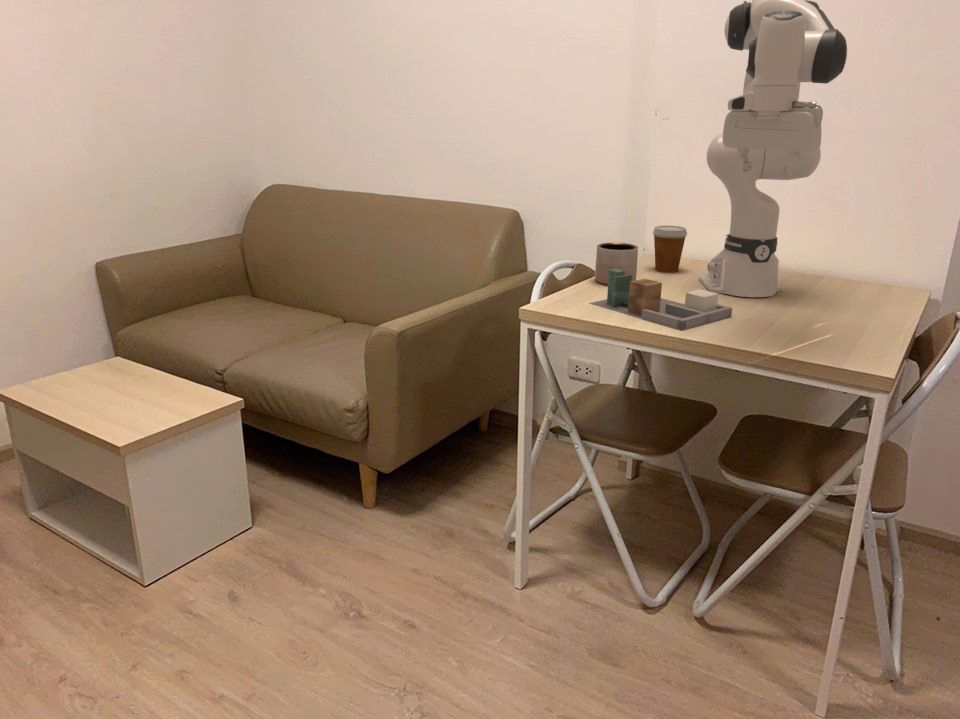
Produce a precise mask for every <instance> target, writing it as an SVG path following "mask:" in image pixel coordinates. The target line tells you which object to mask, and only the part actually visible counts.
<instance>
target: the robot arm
mask: <svg viewBox="0 0 960 719" xmlns="http://www.w3.org/2000/svg"><path fill="white" fill-rule="evenodd" d="M723 30H724V38H725V41H726V42H727V46H728V47H729V48H730V49H731V50H736V51H740V52H741V51H742V52H743V51H744V50H748V58H747V67H746V69H745V76H744V81H743V90H742V94H741V95H739V96H735V97H733V98H730V99H729V100H728V102H727V109H728V111H729V112H728V113H727V114H726V115H725V118H724V124H723V129H722V130H723V131H722V134H718V135H716V136H715V137H714V138H713V139H712V141H711V142H710V143H709V145H708V148H707V152H706V162H707V163H706V164H707V166H708V169H709V170H710V172H711V173H712V174H713V175H714V176H716V177H717V178H718V180H720V181H721V182H722V184H723V186H724V187H725V188H726V190H727V194H728V197H729V200H730V226H729V233H728V234H726V235H725V238H724V239H725V242H724V246H723V247H724V248H723V249H721V251H720V252H719V253H718V254H717V255H715V256H714V257H712V259H711V260H710V262H709V263H707V267H706V268H707V271H708V274H703V275H700V276H699V277H698V280H699V281H700V282H701V284H702V285H703V286H704V287H705V288H706V289H707V291H709V292H713V293H717V294H722V295H723V294H725V295H729V296H734V297H743V298H744V297H745V298H766V297H767V298H768V297H772V296H775V295H776V293H777V292H782V291H781V290H782V286H781V285H778V284H779V283H778V281H779V262H780V261H779V258H778V257H777V256H776V252H777V247H778V237H777V232H778V224H779V219H780V218H779V216H780V211H781V210H780V206H779V204H778V202H777V200H775V199H774V198H773V197H772V196H770V195H768V194H766V193H765V192H762V191H761V190H760V189H758V188H757V185H756V184H757V183H756V182H757V181H759V180H772V181H773V180H775V181H776V180H777V181H778V180H779V181H791V180H799V179H804V178H809V177H810V176H811V175H812V174H813V173H814V172H815V171H816V169H818V166H819V164H820V161H821V154H822V151H821V145H822V120H823V115H824V110H823V108H822V106H821V105H820V104H818V103H817V102H816V101H809V102H808V101H799V99H800V88H801V83H812V84H823V85H824V84H830V82H832V81H834V80H835V79H836V78H837V77H839V75H841V73H843V71H844V68H845V66H846V63H847V59H848V44H847V39H846V38H845V36H844V34H843V33H842V32H841V31H839V30H838V29H837V28H835V27H834V25H833V24H832V22H831V21H830V20H829V18H828V16H827V15H826V14H825V12H824V11H823V10H822V9H821V8H820V5H819V4H818V3H817V2H816V1H812V0H752V1H751V2H747V0H744V1H743V3H741V4H738V5H736V6H734V8H732V9H731V10H730V12H729V14H728V16H727V18H726V21H725V24H724V29H723Z"/></svg>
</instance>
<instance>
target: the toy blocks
mask: <svg viewBox="0 0 960 719" xmlns="http://www.w3.org/2000/svg"><path fill="white" fill-rule="evenodd" d="M662 287H663V282H660V281H657V280H652V279H649V278H640V279H636V280H635V281H632V274H628V275H625V271H624V270H620V269H613V270H609V279H608V285H607V298H606V299H607V303H608V304H611V305H612V306H611V307H617V306H622V307H625V308H628V312H631V313H635V314H638V315H641V316H642V310H643V309H648V310H652V311H655V312H660V300H661V298H662V289H663V288H662Z"/></svg>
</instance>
